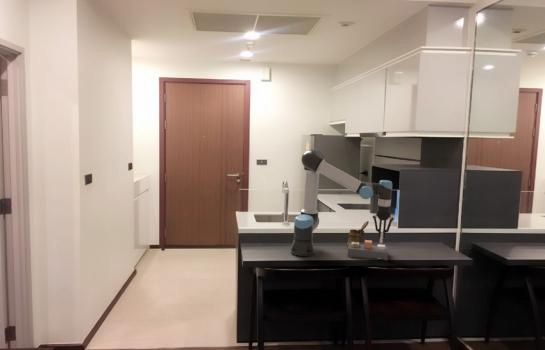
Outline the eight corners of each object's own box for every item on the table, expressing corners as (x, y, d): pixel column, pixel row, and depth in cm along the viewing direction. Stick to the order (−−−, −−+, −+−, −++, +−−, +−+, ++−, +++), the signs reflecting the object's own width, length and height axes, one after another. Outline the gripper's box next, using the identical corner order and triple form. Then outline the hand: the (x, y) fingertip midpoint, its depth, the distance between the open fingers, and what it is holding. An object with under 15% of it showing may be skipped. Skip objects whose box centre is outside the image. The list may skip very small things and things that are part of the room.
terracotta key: (364, 249, 251) (364, 242, 251) (364, 247, 256) (364, 239, 255) (371, 250, 250) (372, 242, 250) (371, 248, 255) (372, 240, 254)
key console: (347, 256, 250) (348, 248, 250) (348, 250, 262) (349, 242, 261) (387, 260, 245) (388, 252, 244) (386, 254, 257) (387, 246, 256)
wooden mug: (368, 249, 265) (370, 222, 262) (347, 248, 265) (349, 222, 263) (365, 245, 274) (367, 219, 271) (345, 244, 274) (347, 218, 272)
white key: (377, 253, 250) (377, 246, 249) (377, 251, 254) (377, 244, 253) (384, 254, 249) (385, 247, 248) (384, 252, 253) (385, 244, 252)
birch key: (351, 251, 253) (351, 243, 253) (351, 248, 258) (351, 241, 257) (358, 251, 252) (358, 244, 252) (358, 249, 257) (358, 242, 256)
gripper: (373, 205, 245) (370, 243, 248) (395, 207, 242) (392, 245, 245) (373, 203, 252) (370, 239, 256) (394, 205, 249) (391, 242, 253)
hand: (381, 242), depth 251 cm, fingers closed
